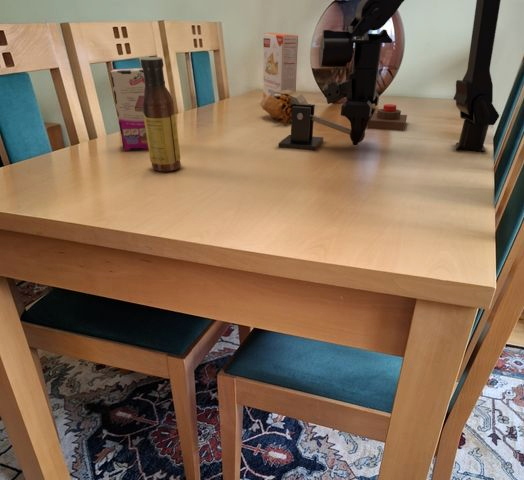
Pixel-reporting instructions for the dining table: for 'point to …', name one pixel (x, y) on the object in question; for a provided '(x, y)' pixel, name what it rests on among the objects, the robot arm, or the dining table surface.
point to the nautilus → (282, 104)
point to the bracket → (301, 130)
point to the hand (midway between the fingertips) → (356, 143)
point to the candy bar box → (130, 106)
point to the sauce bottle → (159, 118)
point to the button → (389, 108)
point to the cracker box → (279, 62)
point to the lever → (334, 126)
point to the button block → (388, 120)
